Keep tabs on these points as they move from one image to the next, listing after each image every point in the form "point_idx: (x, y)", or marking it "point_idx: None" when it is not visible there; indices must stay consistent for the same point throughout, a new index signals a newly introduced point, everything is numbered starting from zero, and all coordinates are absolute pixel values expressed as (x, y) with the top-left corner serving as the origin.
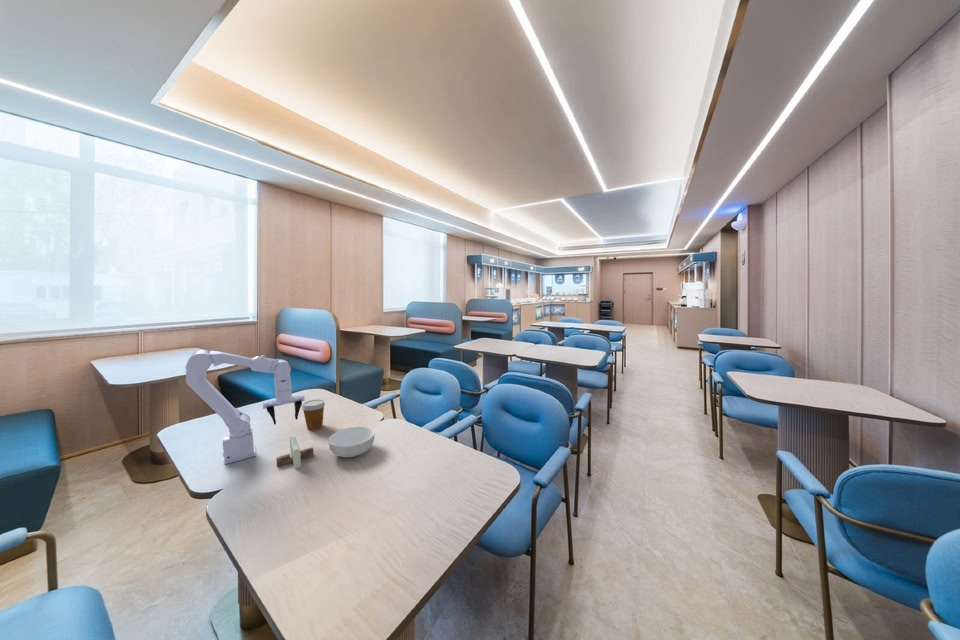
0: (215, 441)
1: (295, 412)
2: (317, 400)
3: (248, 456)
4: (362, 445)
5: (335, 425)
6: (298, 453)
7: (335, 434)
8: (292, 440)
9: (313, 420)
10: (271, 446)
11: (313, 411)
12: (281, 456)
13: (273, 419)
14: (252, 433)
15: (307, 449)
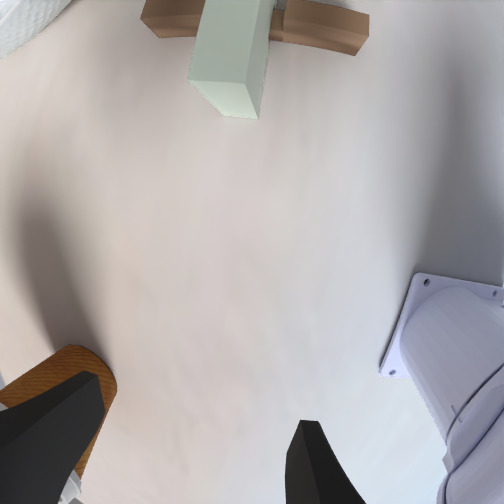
0: (415, 478)
1: (60, 440)
2: None
3: (442, 282)
4: None
5: (18, 315)
6: None
7: (16, 8)
8: (240, 6)
9: (57, 378)
10: (314, 336)
11: None
12: (337, 23)
13: (334, 469)
14: (453, 398)
15: (173, 6)
